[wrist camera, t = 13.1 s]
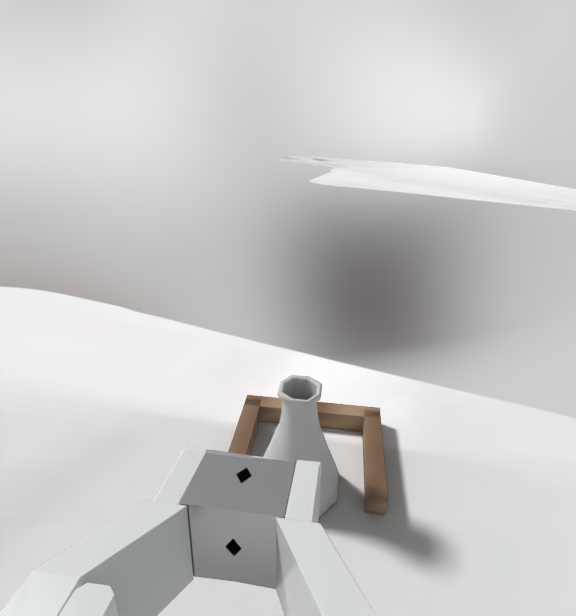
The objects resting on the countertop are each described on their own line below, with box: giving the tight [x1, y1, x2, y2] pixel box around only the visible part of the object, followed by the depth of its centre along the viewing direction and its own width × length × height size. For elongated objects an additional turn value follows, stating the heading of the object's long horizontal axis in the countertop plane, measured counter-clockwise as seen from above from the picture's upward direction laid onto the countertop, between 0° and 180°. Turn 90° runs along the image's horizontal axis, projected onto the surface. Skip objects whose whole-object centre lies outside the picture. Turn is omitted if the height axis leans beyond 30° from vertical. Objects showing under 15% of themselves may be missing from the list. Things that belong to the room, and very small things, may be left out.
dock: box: [229, 395, 388, 514], centre depth 39 cm, size 13×10×2 cm
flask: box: [263, 375, 339, 517], centre depth 34 cm, size 7×7×10 cm
